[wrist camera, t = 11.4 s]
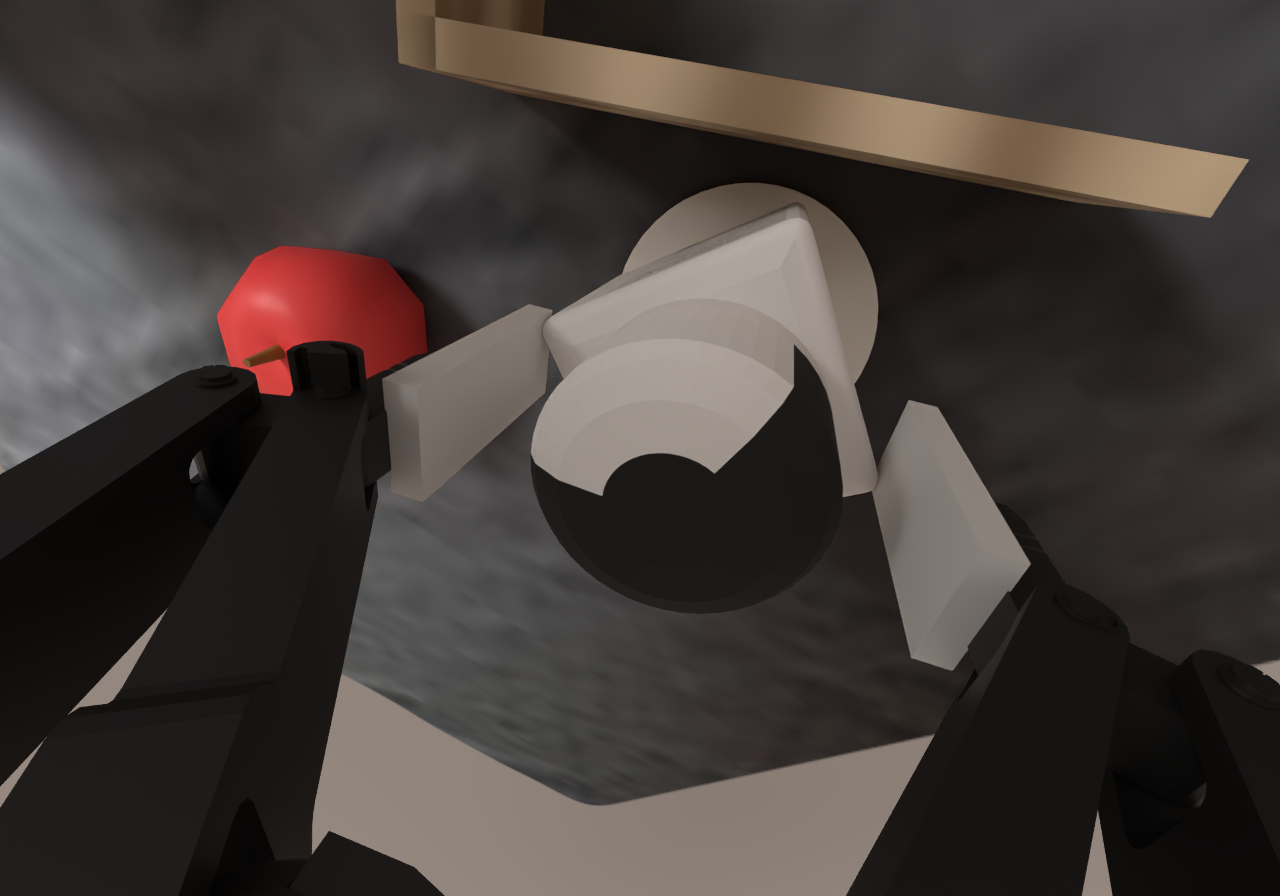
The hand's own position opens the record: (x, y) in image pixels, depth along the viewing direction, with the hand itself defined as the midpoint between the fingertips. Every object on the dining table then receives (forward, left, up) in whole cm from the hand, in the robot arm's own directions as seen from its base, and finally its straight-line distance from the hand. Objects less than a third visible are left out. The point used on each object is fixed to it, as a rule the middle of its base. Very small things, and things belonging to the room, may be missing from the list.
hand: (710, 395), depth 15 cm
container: (0, 0, -7) cm, 7 cm away
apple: (-18, -4, -9) cm, 20 cm away
